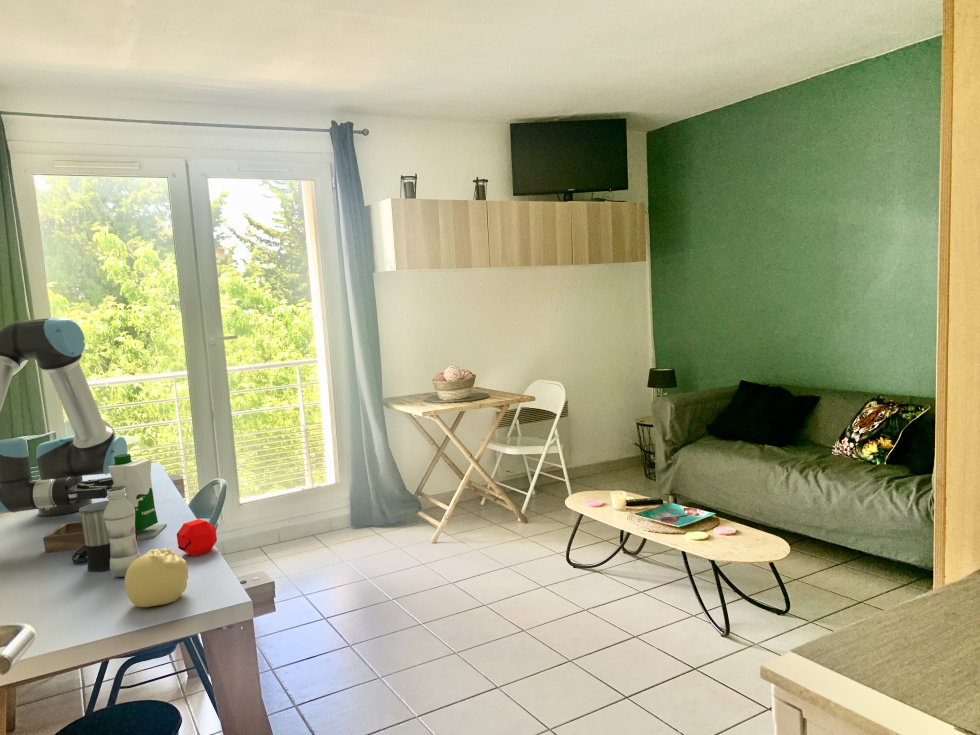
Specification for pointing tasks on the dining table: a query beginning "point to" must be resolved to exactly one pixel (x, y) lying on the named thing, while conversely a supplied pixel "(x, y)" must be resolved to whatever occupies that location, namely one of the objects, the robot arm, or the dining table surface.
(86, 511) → the milk frother
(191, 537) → the ball
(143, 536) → the mat
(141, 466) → the soya milk
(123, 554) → the plastic bottle
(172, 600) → the pale yellow rounded lump
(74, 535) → the holder
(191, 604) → the dining table surface
